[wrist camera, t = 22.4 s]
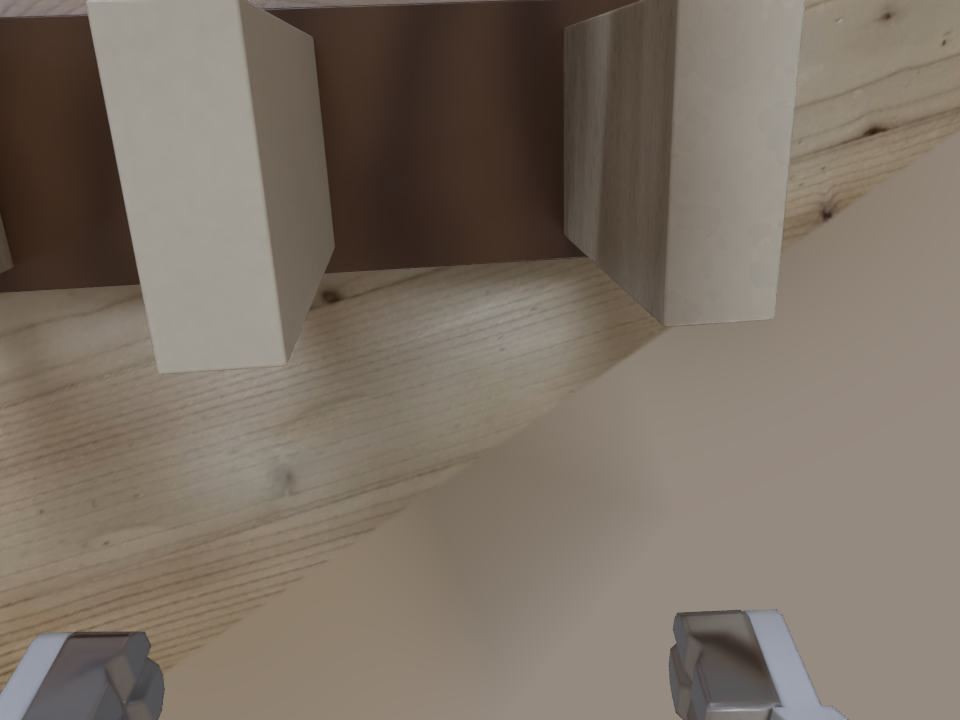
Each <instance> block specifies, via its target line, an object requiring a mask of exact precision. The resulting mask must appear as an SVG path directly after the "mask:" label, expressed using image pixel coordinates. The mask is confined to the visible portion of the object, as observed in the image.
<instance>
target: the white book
mask: <svg viewBox="0 0 960 720" xmlns="http://www.w3.org/2000/svg"><path fill="white" fill-rule="evenodd" d="M86 8H87V13H88V18H89V23H90V28H91V33H92V39H93V44H94V49H95V54H96V59H97V64H98V69H99V75H100V80H101V85H102V90H103V95H104V100H105V105H106V110H107V116H108V121H109V126H110V131H111V136H112V141H113V146H114V152H115V157H116V162H117V167H118V172H119V177H120V182H121V187H122V193H123V198H124V203H125V208H126V213H127V218H128V223H129V229H130V234H131V239H132V244H133V249H134V254H135V259H136V264H137V270H138V275H139V280H140V285H141V290H142V295H143V300H144V306H145V311H146V316H147V321H148V326H149V331H150V336H151V341H152V347H153V352H154V357H155V362H156V367H157V372H158V374H176V373H191V372H206V371H220V370H235V369H250V368H265V367H279V366H285V365H287V363H288V360H289V358H290V355H291V353H292V351H293V348H294V346H295V343H296V341H297V338H298V336H299V333H300V331H301V329H302V326H303V324H304V321H305V319H306V316H307V314H308V312H309V309H310V307H311V304H312V302H313V299H314V297H315V295H316V292H317V290H318V287H319V285H320V282H321V280H322V278H323V275H324V273H325V270H326V268H327V265H328V263H329V261H330V258H331V256H332V253H333V251H334V248H335V243H334V233H333V224H332V214H331V204H330V195H329V185H328V175H327V166H326V156H325V146H324V137H323V127H322V117H321V108H320V98H319V88H318V79H317V69H316V60H315V50H314V40H313V37H312V36H310V35H308V34H306V33H304V32H303V31H301V30H299V29H297V28H295V27H294V26H292V25H290V24H288V23H286V22H284V21H283V20H281V19H279V18H277V17H275V16H273V15H272V14H270V13H268V12H266V11H264V10H262V9H261V8H259V7H257V6H255V5H253V4H252V3H250V2H248V1H246V0H86Z"/></svg>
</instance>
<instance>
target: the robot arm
mask: <svg viewBox="0 0 960 720" xmlns="http://www.w3.org/2000/svg"><path fill="white" fill-rule="evenodd" d="M673 631H674V635H675V639H676V644H675V645H674V646H673V647H672V648H671V649H670V658H669V677H670V686H671V692H672V698H673V702H674V707H675V711H676V713H677V714H678V715H679V716H680V717H681V718H682V719H683V720H848V719H847V718H846V717H845V716H844V715H842V714H841V713H840V712H839V711H838V710H837V709H835V708H834V707H833V706H822V705H821V702H820V700H819V698H818V695H817V693H816V691H815V689H814V686H813V684H812V682H811V679H810V677H809V675H808V672H807V670H806V668H805V665H804V663H803V661H802V659H801V656H800V654H799V652H798V649H797V647H796V645H795V642H794V640H793V638H792V636H791V634H790V631H789V629H788V626H787V624H786V622H785V619H784V617H783V615H782V614H781V613H780V612H779V611H778V610H777V609H775V610H745V611H741V610H729V611H728V610H727V611H706V612H684V613H677V614H676V616H675V619H674V625H673ZM150 648H151V644H150V642H149V640H148V638H147V636H146V633H145V632H48V633H42V634H41V635H39V636H38V637H37V638H36V639H34V640H33V641H32V643H31V644H30V646H29V648H28V649H27V651H26V653H25V654H24V656H23V658H22V659H21V661H20V662H19V664H18V666H17V667H16V669H15V671H14V672H13V674H12V676H11V677H10V679H9V681H8V682H7V684H6V686H5V687H4V689H3V691H2V692H1V694H0V720H158V719H159V716H160V713H161V711H162V705H163V697H164V691H165V690H164V689H165V688H164V679H163V674H162V671H161V669H160V666H159V665H158V664H157V663H155V662H154V661H153V660H151V659H150V658H148V657H147V655H148V653H149V650H150Z"/></svg>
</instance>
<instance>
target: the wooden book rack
mask: <svg viewBox="0 0 960 720" xmlns="http://www.w3.org/2000/svg"><path fill="white" fill-rule="evenodd" d="M804 8H805V0H507V1H477V2H447V3H417V4H387V5H357V6H327V7H297V8H267V9H262V10H264V11H266V12H268V13H270V14H272V15H273V16H275V17H277V18H279V19H281V20H283V21H284V22H286V23H288V24H290V25H292V26H294V27H295V28H297V29H299V30H301V31H303V32H304V33H306V34H308V35H310V36H312V37H313V40H314V50H315V60H316V69H317V79H318V88H319V98H320V108H321V117H322V127H323V137H324V146H325V156H326V166H327V175H328V185H329V195H330V204H331V214H332V224H333V233H334V243H335V248H334V251H333V253H332V256H331V258H330V261H329V263H328V265H327V268H326V270H325V273H336V272H353V271H370V270H386V269H403V268H420V267H436V266H453V265H470V264H486V263H503V262H520V261H536V260H553V259H569V258H586V257H589V258H590V259H591V260H592V261H593V262H594V263H595V264H596V265H597V266H598V267H600V268H601V269H602V270H603V271H604V272H605V273H606V274H607V275H608V276H609V277H610V278H612V279H613V280H614V281H615V282H616V283H617V284H618V285H619V286H620V287H621V288H622V289H623V290H625V291H626V292H627V293H628V294H629V295H630V296H631V297H632V298H633V299H634V300H635V301H637V302H638V303H639V304H640V305H641V306H642V307H643V308H644V309H645V310H646V311H647V312H649V313H650V314H651V315H652V316H653V317H654V318H655V319H656V320H657V321H658V322H659V323H661V324H662V325H663V326H664V327H674V326H688V325H703V324H718V323H733V322H748V321H762V320H772V319H774V317H775V307H776V296H777V286H778V276H779V266H780V256H781V245H782V235H783V225H784V214H785V204H786V194H787V183H788V173H789V163H790V152H791V142H792V132H793V121H794V111H795V101H796V90H797V80H798V70H799V59H800V49H801V39H802V28H803V18H804ZM137 284H140V280H139V275H138V270H137V264H136V259H135V254H134V249H133V244H132V239H131V234H130V229H129V223H128V218H127V213H126V208H125V203H124V198H123V193H122V187H121V182H120V177H119V172H118V167H117V162H116V157H115V152H114V146H113V141H112V136H111V131H110V126H109V121H108V116H107V110H106V105H105V100H104V95H103V90H102V85H101V80H100V75H99V69H98V64H97V59H96V54H95V49H94V44H93V39H92V33H91V28H90V23H89V18H88V14H87V15H57V16H26V17H0V293H3V292H20V291H37V290H53V289H70V288H87V287H103V286H120V285H137Z"/></svg>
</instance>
